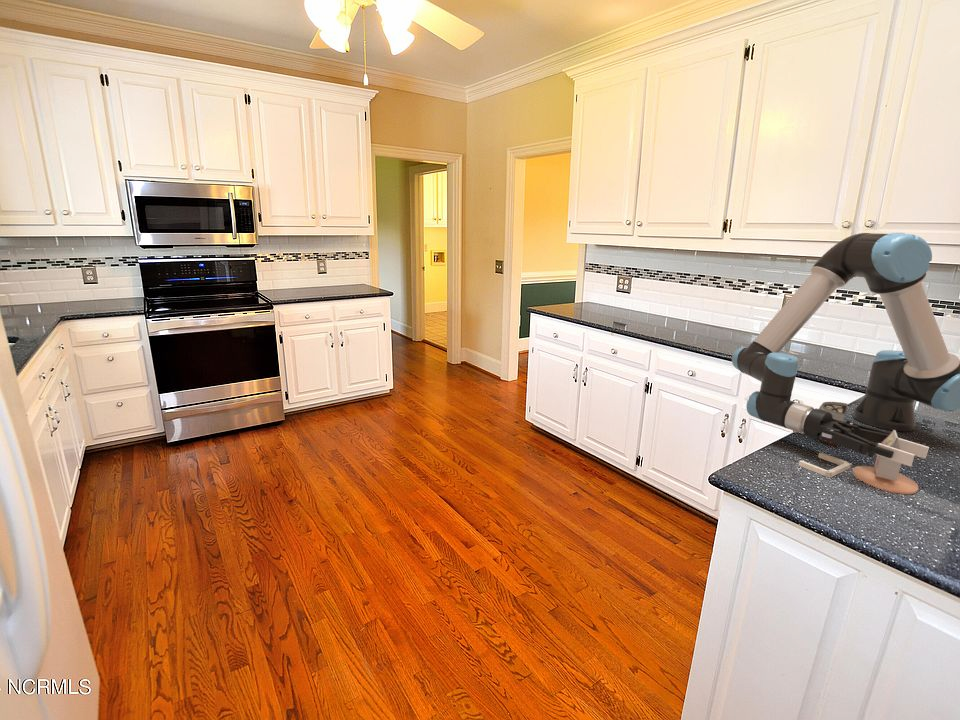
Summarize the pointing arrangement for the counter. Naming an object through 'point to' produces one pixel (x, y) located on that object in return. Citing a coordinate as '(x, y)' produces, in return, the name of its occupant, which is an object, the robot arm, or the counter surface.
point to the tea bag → (888, 460)
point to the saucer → (885, 481)
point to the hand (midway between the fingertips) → (919, 456)
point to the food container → (834, 413)
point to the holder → (828, 473)
